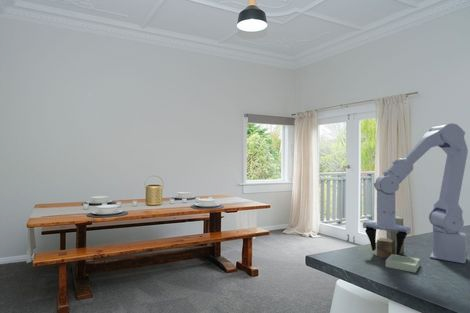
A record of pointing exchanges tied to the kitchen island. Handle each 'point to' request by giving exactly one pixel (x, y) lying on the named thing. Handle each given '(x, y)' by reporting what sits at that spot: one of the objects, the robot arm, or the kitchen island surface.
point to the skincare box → (393, 234)
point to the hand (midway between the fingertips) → (385, 251)
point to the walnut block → (385, 247)
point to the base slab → (403, 263)
